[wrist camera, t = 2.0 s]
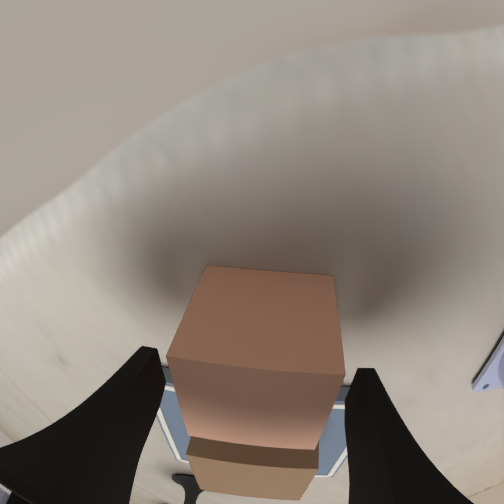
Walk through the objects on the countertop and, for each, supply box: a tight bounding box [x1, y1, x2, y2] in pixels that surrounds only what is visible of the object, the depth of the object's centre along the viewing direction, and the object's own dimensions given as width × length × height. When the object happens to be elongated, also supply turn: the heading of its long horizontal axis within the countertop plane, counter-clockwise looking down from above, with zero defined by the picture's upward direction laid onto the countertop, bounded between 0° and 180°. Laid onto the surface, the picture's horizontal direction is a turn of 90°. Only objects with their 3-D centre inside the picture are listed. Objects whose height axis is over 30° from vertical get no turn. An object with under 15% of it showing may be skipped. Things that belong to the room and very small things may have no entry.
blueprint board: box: [156, 367, 350, 500], centre depth 17 cm, size 13×12×4 cm
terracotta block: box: [166, 265, 345, 450], centre depth 12 cm, size 5×5×5 cm
